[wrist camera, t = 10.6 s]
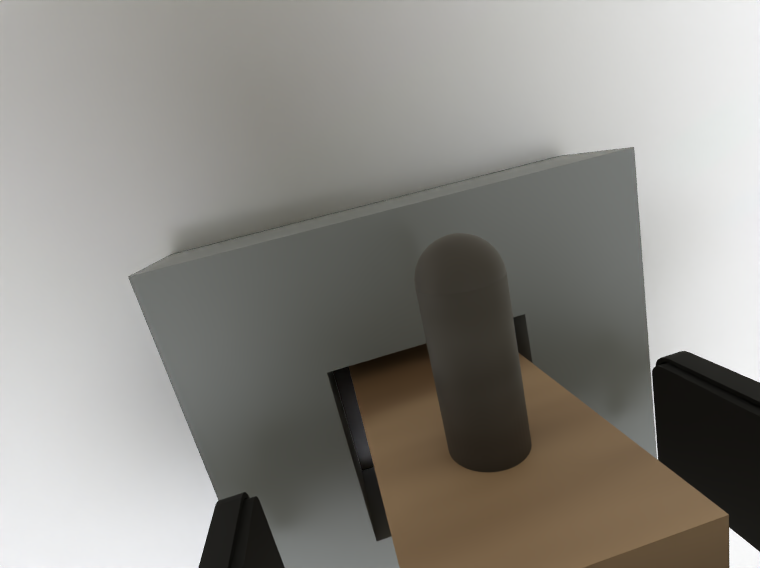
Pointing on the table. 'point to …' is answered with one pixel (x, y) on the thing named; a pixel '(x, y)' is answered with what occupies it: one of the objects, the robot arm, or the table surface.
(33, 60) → the table surface
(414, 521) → the walnut plug
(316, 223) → the socket block
